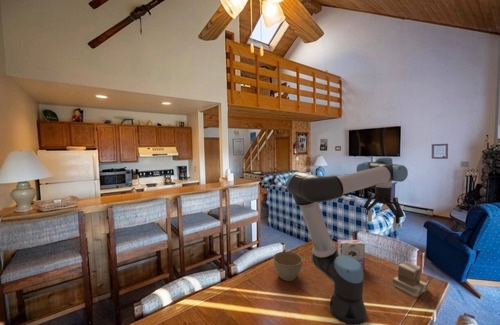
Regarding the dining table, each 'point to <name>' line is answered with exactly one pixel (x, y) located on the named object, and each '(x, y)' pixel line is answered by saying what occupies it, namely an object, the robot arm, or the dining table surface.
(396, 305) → the dining table surface
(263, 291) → the dining table surface
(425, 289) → the riser block
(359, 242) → the candy box
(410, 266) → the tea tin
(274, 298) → the dining table surface
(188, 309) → the dining table surface
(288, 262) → the planter bowl
